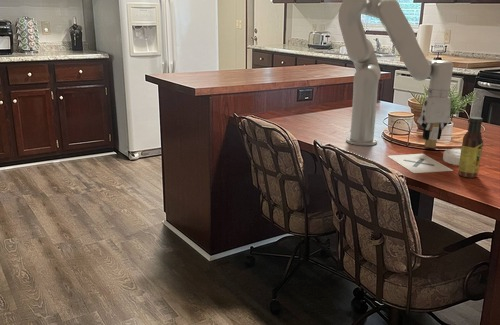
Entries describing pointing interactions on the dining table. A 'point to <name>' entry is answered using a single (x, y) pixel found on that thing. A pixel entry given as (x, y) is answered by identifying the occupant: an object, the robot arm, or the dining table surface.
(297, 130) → the dining table surface
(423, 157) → the letter sheet
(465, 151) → the sauce bottle
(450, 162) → the cheese wheel
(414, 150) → the dining table surface
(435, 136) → the sprinkles bottle
